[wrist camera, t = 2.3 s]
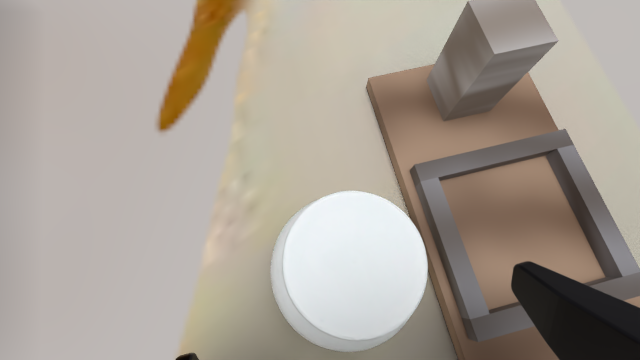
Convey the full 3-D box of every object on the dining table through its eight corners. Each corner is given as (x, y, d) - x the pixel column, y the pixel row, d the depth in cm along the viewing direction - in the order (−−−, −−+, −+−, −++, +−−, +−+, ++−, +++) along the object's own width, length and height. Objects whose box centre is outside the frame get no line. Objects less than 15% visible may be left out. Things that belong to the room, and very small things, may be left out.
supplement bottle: (346, 351, 17) (380, 429, 8) (266, 284, 18) (211, 282, 9) (403, 265, 18) (490, 243, 9) (326, 207, 19) (333, 134, 10)
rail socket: (694, 427, 16) (968, 529, 9) (502, 490, 15) (650, 652, 8) (506, 57, 22) (586, -40, 16) (366, 87, 22) (388, -2, 15)
